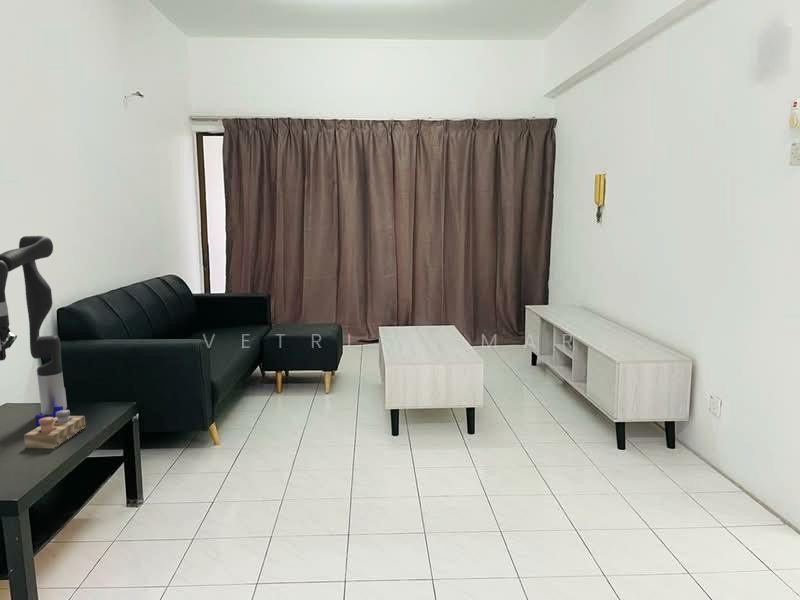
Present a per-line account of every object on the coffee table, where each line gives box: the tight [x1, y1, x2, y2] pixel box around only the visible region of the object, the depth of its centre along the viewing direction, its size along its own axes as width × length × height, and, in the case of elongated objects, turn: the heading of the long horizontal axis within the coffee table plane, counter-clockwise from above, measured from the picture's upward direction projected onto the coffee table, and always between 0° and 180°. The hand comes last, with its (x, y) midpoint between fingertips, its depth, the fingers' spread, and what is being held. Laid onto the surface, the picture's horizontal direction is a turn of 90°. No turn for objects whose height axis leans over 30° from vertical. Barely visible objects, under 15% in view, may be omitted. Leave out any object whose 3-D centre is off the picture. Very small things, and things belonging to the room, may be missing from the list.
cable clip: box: [35, 406, 63, 428], centre depth 241 cm, size 12×4×6 cm, turn 173°
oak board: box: [23, 415, 87, 449], centre depth 227 cm, size 20×11×5 cm, turn 177°
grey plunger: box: [56, 409, 71, 423], centre depth 232 cm, size 5×5×8 cm
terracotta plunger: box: [39, 416, 54, 433], centre depth 222 cm, size 5×5×8 cm
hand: (1, 360), depth 221 cm, fingers closed
